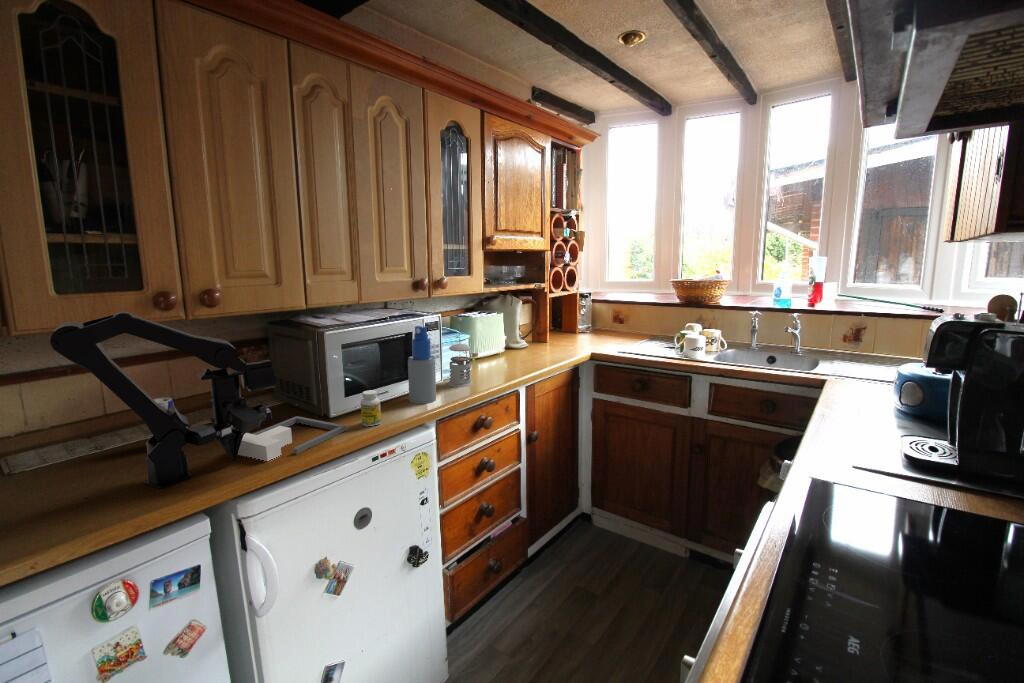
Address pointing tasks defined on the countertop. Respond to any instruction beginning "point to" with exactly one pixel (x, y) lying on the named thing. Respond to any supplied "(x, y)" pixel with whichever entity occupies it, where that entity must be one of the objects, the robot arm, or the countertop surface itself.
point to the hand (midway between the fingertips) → (233, 458)
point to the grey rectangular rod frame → (316, 423)
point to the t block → (265, 443)
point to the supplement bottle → (370, 408)
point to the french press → (460, 366)
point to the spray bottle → (421, 369)
